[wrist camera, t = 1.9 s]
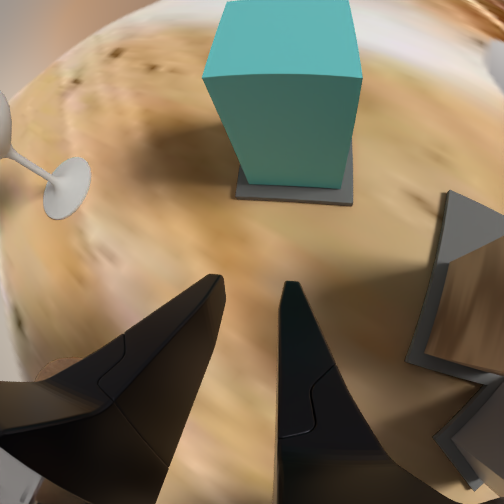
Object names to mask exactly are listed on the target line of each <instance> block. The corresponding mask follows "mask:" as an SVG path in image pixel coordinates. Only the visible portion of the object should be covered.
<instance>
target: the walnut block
mask: <svg viewBox="0 0 504 504" xmlns="http://www.w3.org/2000/svg"><path fill="white" fill-rule="evenodd" d="M424 353H425V354H428V355H431V356H435V357H438V358H441V359H444V360H448V361H451V362H454V363H458V364H461V365H464V366H468V367H471V368H474V369H478V370H481V371H485V372H488V373H492V374H496V375H500V376H504V236H502V237H500V238H498V239H496V240H494V241H492V242H490V243H488V244H486V245H484V246H482V247H480V248H478V249H476V250H474V251H472V252H470V253H468V254H466V255H464V256H462V257H459V258H457V259H455V260H453V261H451V262H449V267H448V271H447V276H446V280H445V284H444V288H443V292H442V296H441V300H440V303H439V307H438V311H437V314H436V317H435V321H434V324H433V327H432V330H431V334H430V337H429V340H428V343H427V346H426V349H425V351H424Z"/></svg>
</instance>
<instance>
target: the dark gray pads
mask: <svg viewBox="0 0 504 504" xmlns="http://www.w3.org/2000/svg"><path fill="white" fill-rule="evenodd" d="M235 197H236V198H237V199H240V200H264V201H284V202H301V203H316V204H330V205H343V206H352V205H353V155H352V139H351V144H350V148H349V153H348V158H347V162H346V167H345V172H344V176H343V180H342V185H341V189H332V188H318V187H302V186H283V185H259V184H249V183H248V181H247V178H246V176H245V174H244V171H243V169H242V167H241V164H240V168H239V175H238V182H237V189H236V196H235ZM502 236H504V215H502V214H500V213H498V212H496V211H494V210H492V209H490V208H488V207H486V206H484V205H482V204H480V203H478V202H476V201H474V200H471V199H469V198H467V197H465V196H463V195H461V194H458V193H456V192H454V191H452V190H449V191H448V192H447V197H446V204H445V211H444V217H443V222H442V228H441V233H440V239H439V244H438V248H437V253H436V258H435V262H434V266H433V270H432V275H431V278H430V282H429V286H428V290H427V294H426V297H425V301H424V304H423V308H422V311H421V314H420V318H419V321H418V324H417V327H416V330H415V333H414V336H413V339H412V342H411V345H410V348H409V350H408V353H407V356H406V359H405V362H407V363H410V364H414V365H417V366H420V367H424V368H427V369H430V370H434V371H437V372H441V373H444V374H448V375H451V376H455V377H458V378H462V379H466V380H469V381H473V382H477V383H480V384H484V385H483V386H482V387H481V389H480V390H479V391H478V392H477V393H476V394H475V395H474V396H473V398H472V399H471V400H470V401H469V402H468V403H467V404H466V405H465V406H464V407H463V408H462V409H461V410H460V411H459V412H458V413H457V414H456V415H455V416H454V417H453V418H452V419H451V420H450V421H449V422H448V423H447V424H446V425H445V426H444V427H443V428H442V429H441V430H440V431H439V432H438V433H437V434H435V435H434V436H433V439H434V440H435V441H436V443H437V444H438V445H439V446H440V448H441V449H442V450H443V452H444V453H445V454H446V456H447V457H448V458H449V459H450V461H451V462H452V463H453V465H454V466H455V467H456V469H457V470H458V471H459V473H460V474H461V475H462V477H463V478H464V479H465V480H466V482H467V483H468V484H469V486H470V487H471V488H472V490H473V491H474V492H475V491H476V490H477V489H478V488H479V487H480V486H481V485H482V484H483V482H482V481H481V480H480V479H479V477H478V476H477V474H476V473H475V471H474V470H473V469H472V467H471V466H470V464H469V463H468V462H467V460H466V459H465V457H464V456H463V455H462V453H461V452H460V451H459V449H458V448H457V446H456V445H455V444H454V442H453V441H452V440H451V438H452V437H453V436H454V435H455V434H456V433H457V432H458V431H459V430H460V429H461V428H462V427H463V426H464V425H465V424H466V423H467V422H468V421H469V420H470V419H471V418H472V417H473V416H474V415H475V414H476V413H477V412H478V411H479V409H480V408H481V407H482V406H483V405H484V404H485V403H486V402H487V401H488V399H489V398H490V397H491V396H492V395H493V394H494V392H495V391H496V390H497V389H498V387H499V386H500V385H501V384H502V383H503V381H504V376H500V375H496V374H492V373H488V372H485V371H481V370H478V369H474V368H471V367H468V366H464V365H461V364H458V363H454V362H451V361H448V360H444V359H441V358H438V357H435V356H431V355H428V354H425V353H424V351H425V349H426V346H427V343H428V340H429V337H430V334H431V330H432V327H433V324H434V321H435V317H436V314H437V311H438V307H439V303H440V300H441V296H442V292H443V288H444V284H445V280H446V276H447V271H448V267H449V262H451V261H453V260H455V259H457V258H459V257H462V256H464V255H466V254H468V253H470V252H472V251H474V250H476V249H478V248H480V247H482V246H484V245H486V244H488V243H490V242H492V241H494V240H496V239H498V238H500V237H502Z"/></svg>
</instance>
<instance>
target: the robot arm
mask: <svg viewBox="0 0 504 504" xmlns="http://www.w3.org/2000/svg"><path fill="white" fill-rule="evenodd" d="M225 303H226V293H225V285H224V278H223V276H222V275H218V274H208V275H206V276H205V277H204V278H202V279H201V280H199V281H198V282H196V283H195V284H193V285H192V286H190V287H189V288H188V289H186V290H185V291H183V292H182V293H180V294H179V295H177V296H176V297H175V298H173V299H172V300H170V301H169V302H167V303H166V304H164V305H163V306H161V307H160V308H159V309H157V310H156V311H154V312H153V313H151V314H150V315H148V316H147V317H146V318H144V319H143V320H141V321H140V322H138V323H137V324H136V325H134V326H133V327H131V328H130V329H128V330H127V331H125V333H124V334H121V335H120V336H118V337H117V338H115V339H114V340H112V341H111V342H109V343H108V344H106V345H105V346H103V347H102V348H100V349H99V350H97V351H95V352H94V353H92V354H90V355H89V356H87V357H85V358H83V359H82V360H80V361H78V362H76V363H75V364H73V365H71V366H69V367H68V368H66V369H64V370H62V371H60V372H59V373H57V374H55V375H53V376H51V377H49V378H47V379H44V380H41V381H37V382H8V381H6V382H5V381H0V504H155V503H156V501H157V498H158V495H159V493H160V490H161V488H162V485H163V482H164V480H165V477H166V474H167V472H168V469H169V468H168V467H169V466H170V464H171V461H172V458H173V456H174V453H175V450H176V448H177V445H178V442H179V440H180V437H181V435H182V432H183V429H184V427H185V424H186V421H187V419H188V416H189V414H190V411H191V408H192V406H193V403H194V400H195V398H196V395H197V393H198V390H199V387H200V385H201V382H202V379H203V377H204V374H205V372H206V369H207V366H208V364H209V361H210V359H211V356H212V353H213V350H214V347H215V344H216V340H217V336H218V332H219V328H220V324H221V320H222V316H223V311H224V307H225ZM272 504H462V503H458V502H455V501H453V500H451V499H449V498H447V497H445V496H444V495H442V494H441V493H439V492H438V491H436V490H434V489H433V488H431V487H430V486H428V485H427V484H425V483H424V482H422V481H421V480H419V479H418V478H416V477H415V476H413V475H412V474H410V473H409V472H407V471H406V470H404V469H403V468H401V467H400V466H399V465H397V464H396V463H395V462H394V461H393V460H392V459H391V458H390V457H389V456H388V454H387V453H386V452H385V451H384V449H383V448H382V446H381V444H380V443H379V441H378V440H377V438H376V436H375V435H374V433H373V431H372V430H371V428H370V426H369V425H368V423H367V422H366V420H365V418H364V417H363V415H362V413H361V412H360V410H359V409H358V407H357V405H356V403H355V402H354V400H353V398H352V396H351V394H350V393H349V391H348V389H347V387H346V385H345V382H344V380H343V378H342V376H341V374H340V371H339V369H338V367H337V365H336V363H335V360H334V358H333V356H332V353H331V351H330V349H329V347H328V344H327V342H326V340H325V337H324V335H323V333H322V331H321V328H320V326H319V324H318V322H317V319H316V317H315V315H314V313H313V311H312V308H311V306H310V304H309V302H308V300H307V297H306V295H305V293H304V291H303V289H302V286H301V284H300V283H299V282H297V281H285V283H284V287H283V291H282V295H281V300H280V304H279V309H278V344H277V389H276V428H275V457H274V481H273V502H272ZM480 504H504V497H500V498H497V499H493V500H490V501H487V502H483V503H480Z"/></svg>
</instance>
